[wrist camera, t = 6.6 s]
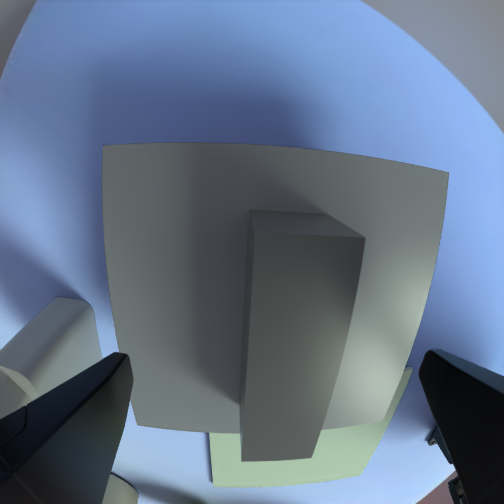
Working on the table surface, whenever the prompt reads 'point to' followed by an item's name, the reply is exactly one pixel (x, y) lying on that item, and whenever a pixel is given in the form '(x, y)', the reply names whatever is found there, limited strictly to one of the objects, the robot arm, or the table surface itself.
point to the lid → (266, 285)
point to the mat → (304, 470)
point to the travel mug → (119, 492)
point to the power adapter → (47, 352)
